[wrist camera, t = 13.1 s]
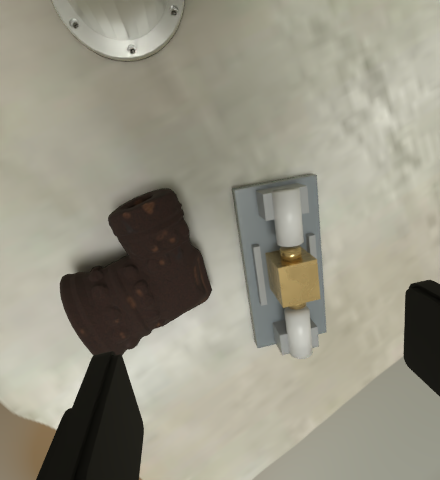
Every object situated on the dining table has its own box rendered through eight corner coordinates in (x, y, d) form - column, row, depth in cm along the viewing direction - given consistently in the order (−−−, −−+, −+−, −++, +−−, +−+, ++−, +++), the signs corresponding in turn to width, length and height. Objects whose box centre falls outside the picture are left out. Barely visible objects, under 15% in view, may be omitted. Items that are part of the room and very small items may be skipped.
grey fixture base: (232, 188, 37) (242, 196, 31) (311, 173, 37) (335, 178, 32) (254, 341, 43) (267, 370, 38) (321, 326, 44) (343, 352, 38)
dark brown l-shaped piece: (181, 189, 28) (22, 265, 26) (236, 312, 34) (111, 384, 31) (164, 180, 37) (45, 236, 35) (210, 279, 43) (110, 333, 40)
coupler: (263, 244, 38) (276, 258, 33) (298, 236, 38) (316, 249, 33) (271, 296, 40) (284, 317, 35) (304, 289, 40) (321, 308, 36)
